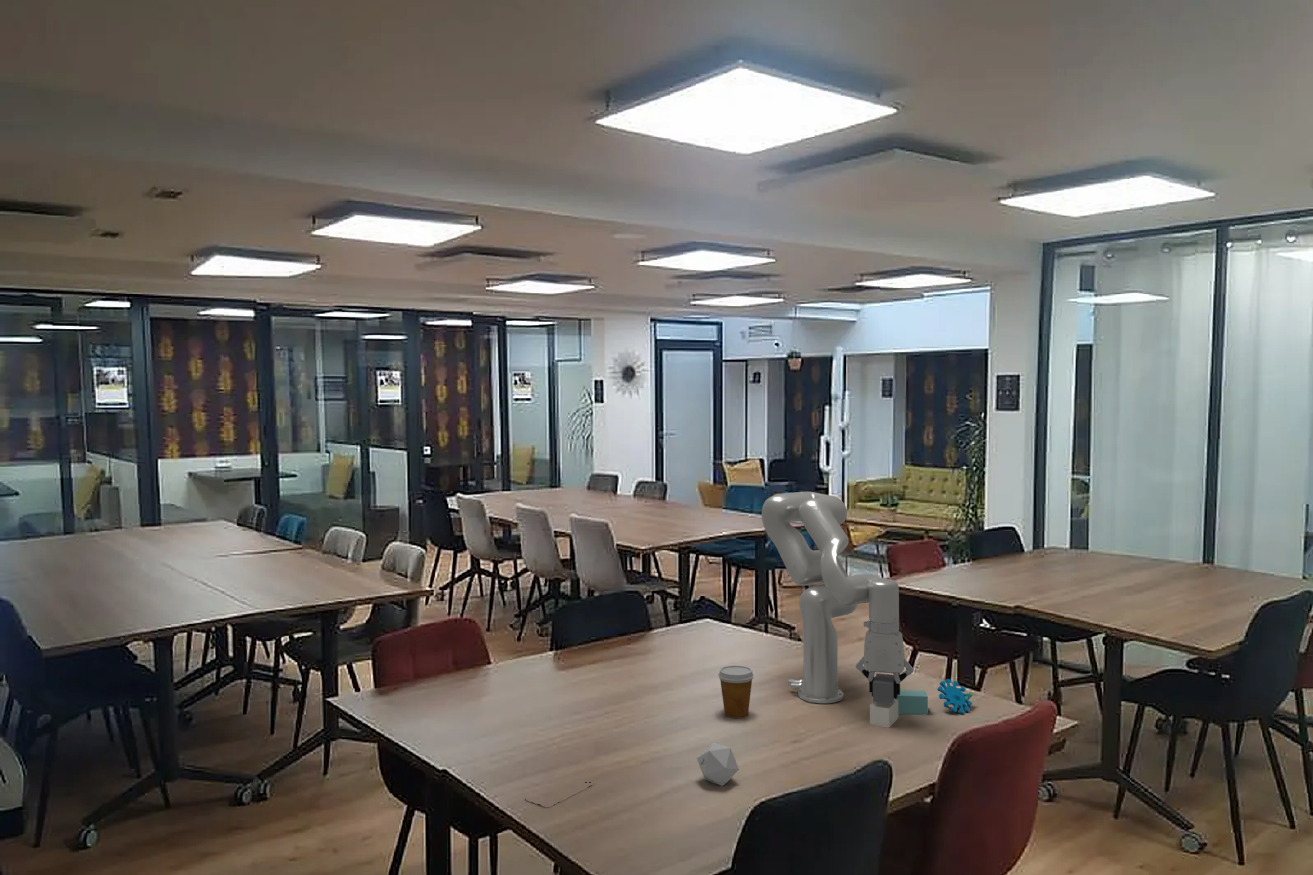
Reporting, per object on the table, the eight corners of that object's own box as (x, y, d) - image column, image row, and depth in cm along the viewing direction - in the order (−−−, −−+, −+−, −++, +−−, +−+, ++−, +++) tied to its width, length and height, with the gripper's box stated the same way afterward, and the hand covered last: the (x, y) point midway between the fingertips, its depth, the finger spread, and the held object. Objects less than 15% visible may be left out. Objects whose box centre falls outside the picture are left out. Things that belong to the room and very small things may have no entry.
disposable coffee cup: (758, 711, 245) (758, 667, 244) (747, 722, 236) (746, 677, 236) (725, 706, 249) (725, 663, 248) (713, 717, 240) (712, 673, 240)
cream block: (888, 728, 232) (888, 708, 231) (869, 724, 234) (869, 705, 234) (898, 718, 238) (898, 699, 238) (879, 715, 241) (879, 696, 241)
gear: (948, 711, 238) (934, 677, 244) (936, 722, 242) (923, 688, 248) (982, 711, 242) (967, 678, 248) (970, 722, 246) (955, 688, 252)
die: (703, 773, 206) (686, 748, 202) (735, 754, 207) (719, 728, 202) (715, 800, 199) (698, 774, 195) (749, 779, 200) (732, 753, 195)
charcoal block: (892, 703, 231) (892, 684, 231) (872, 701, 233) (872, 682, 233) (896, 693, 239) (896, 675, 238) (876, 691, 240) (876, 673, 240)
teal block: (896, 714, 242) (896, 695, 241) (894, 707, 247) (894, 689, 246) (927, 715, 241) (927, 696, 240) (924, 708, 245) (924, 690, 245)
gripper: (848, 628, 235) (849, 697, 235) (917, 633, 229) (917, 704, 229) (852, 621, 242) (853, 689, 242) (919, 626, 236) (919, 694, 236)
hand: (884, 695), depth 236 cm, fingers closed on charcoal block, 5 cm apart
